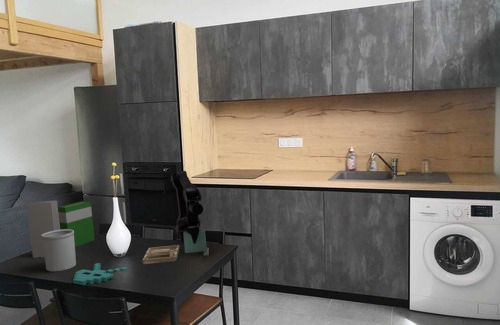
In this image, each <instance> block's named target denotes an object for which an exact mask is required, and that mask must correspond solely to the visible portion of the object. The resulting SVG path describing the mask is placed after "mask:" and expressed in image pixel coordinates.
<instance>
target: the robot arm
mask: <svg viewBox="0 0 500 325" xmlns="http://www.w3.org/2000/svg"><path fill="white" fill-rule="evenodd" d="M170 182H171V183H172V186H173V188H174V189H175V191H176V199H177V206H178V217H177V219H176V226H175V232H176V234H178V235H179V242H180V243H181V244H184V235H183V233H184V231H187V233H189V234H190V235H191V237H192V240H193V243H194V244H196V241H197V238H198V234H199V231H200V230H201V229H200V227H201V219H200V215H201V214H202V213H203V212H204V207H203V205H202V204H201V203H200V202H201V201H202V194H201V191H200V189H199V188H198V187H197V185H196V184H193V183H192V182H191V180H190V178H189V176H188V172H187V171H186V170H179V171H176V172H175V173H173V174H171V175H170Z"/></svg>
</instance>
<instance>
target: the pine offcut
mask: <svg viewBox="0 0 500 325" xmlns="http://www.w3.org/2000/svg"><path fill="white" fill-rule="evenodd" d="M169 253H170V249H162V250H153V252H152V256H153V255H167V254H169Z"/></svg>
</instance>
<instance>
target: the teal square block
mask: <svg viewBox="0 0 500 325" xmlns="http://www.w3.org/2000/svg"><path fill="white" fill-rule="evenodd" d="M183 235H184V243H183V244H184V254H190V253H191V254H192V253H199V252H203V253H204V252H207V248H208V246H207V240H206V239H207V238H206V229H200V231H199V234H198V238H197V241H196V244H194V243H193V240H192V237H191V235H190V234H189V233H187V231H184V233H183Z"/></svg>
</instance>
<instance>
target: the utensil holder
mask: <svg viewBox="0 0 500 325" xmlns="http://www.w3.org/2000/svg"><path fill="white" fill-rule="evenodd" d="M41 237H42V240H43V248H44V256H45V257H44V261H45V262H44V263H45V269H46V271H48V272H60V271H66V270H69V269H72V268H73V267H76V265H77V260H76V259H77V258H76V247H75V243H74V230H71V229H62V230H55V231H50V232H47V233H44V234H42V235H41Z"/></svg>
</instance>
